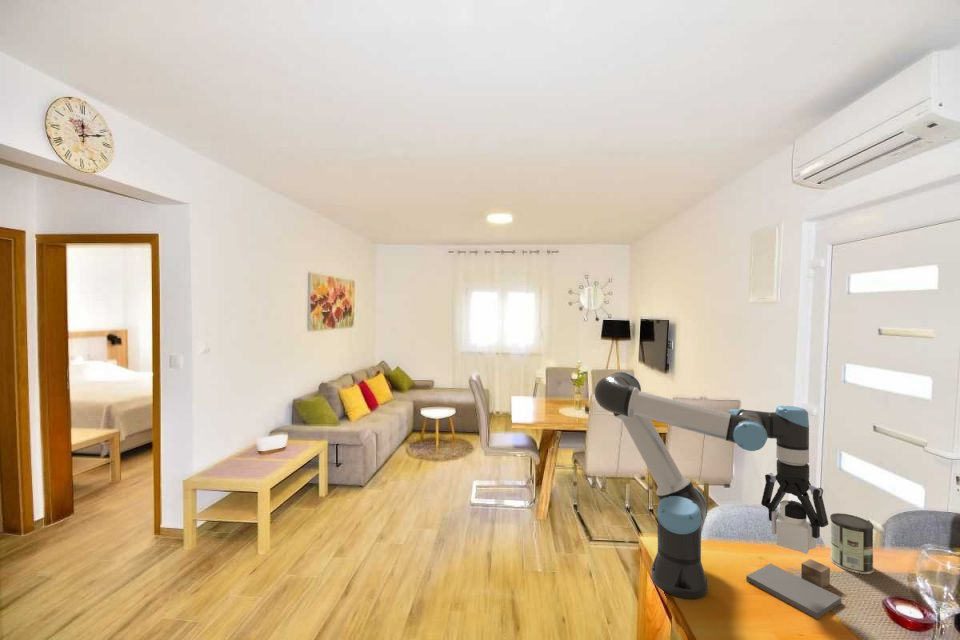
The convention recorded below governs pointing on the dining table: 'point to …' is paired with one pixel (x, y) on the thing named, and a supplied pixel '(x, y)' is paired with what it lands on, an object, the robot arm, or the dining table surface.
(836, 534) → the coffee can
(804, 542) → the medicine bottle
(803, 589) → the charcoal serving board
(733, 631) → the dining table surface
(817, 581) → the walnut block
